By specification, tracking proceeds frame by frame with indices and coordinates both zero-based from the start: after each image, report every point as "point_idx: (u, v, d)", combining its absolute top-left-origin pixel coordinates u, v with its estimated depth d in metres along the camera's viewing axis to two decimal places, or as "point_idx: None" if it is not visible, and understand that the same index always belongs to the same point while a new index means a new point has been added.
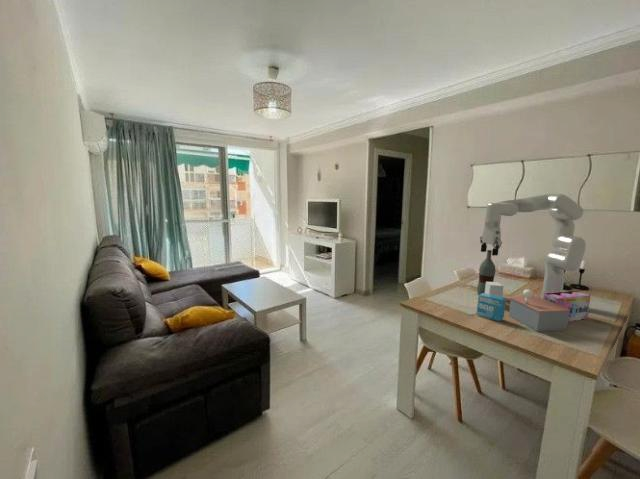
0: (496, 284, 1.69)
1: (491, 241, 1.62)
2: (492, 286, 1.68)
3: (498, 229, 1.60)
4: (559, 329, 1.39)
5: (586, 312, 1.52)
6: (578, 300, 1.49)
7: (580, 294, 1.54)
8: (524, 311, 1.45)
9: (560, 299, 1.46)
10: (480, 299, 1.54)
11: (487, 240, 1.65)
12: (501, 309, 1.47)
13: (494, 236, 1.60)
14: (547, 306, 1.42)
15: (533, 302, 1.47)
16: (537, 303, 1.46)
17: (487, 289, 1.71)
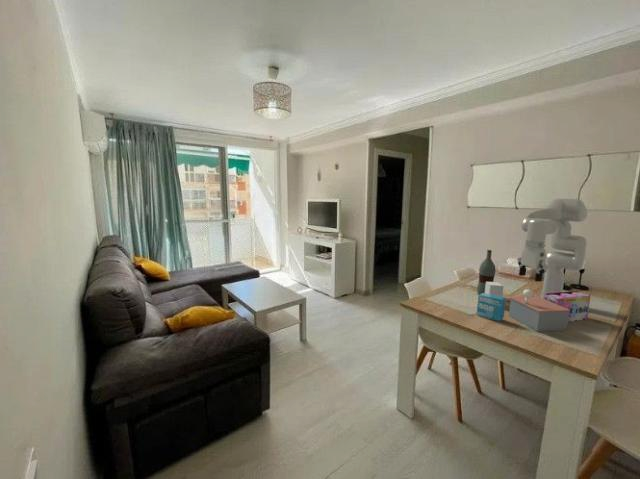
0: (496, 284, 1.69)
1: (534, 264, 1.38)
2: (492, 286, 1.68)
3: (543, 251, 1.36)
4: (559, 329, 1.39)
5: (586, 312, 1.51)
6: (578, 300, 1.49)
7: (580, 294, 1.54)
8: (524, 311, 1.45)
9: (560, 299, 1.46)
10: (480, 299, 1.54)
11: (528, 263, 1.41)
12: (501, 309, 1.47)
13: (538, 259, 1.36)
14: (547, 306, 1.42)
15: (533, 302, 1.47)
16: (537, 303, 1.46)
17: (487, 289, 1.71)
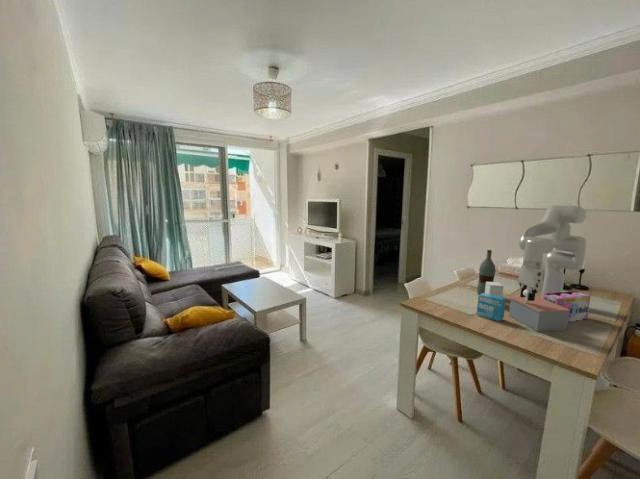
0: (496, 284, 1.69)
1: (531, 284, 1.40)
2: (492, 286, 1.68)
3: (540, 270, 1.38)
4: (559, 329, 1.39)
5: (586, 312, 1.51)
6: (578, 301, 1.49)
7: (580, 294, 1.53)
8: (524, 311, 1.45)
9: (560, 299, 1.46)
10: (480, 299, 1.54)
11: (526, 282, 1.43)
12: (501, 309, 1.47)
13: (535, 278, 1.38)
14: (547, 306, 1.42)
15: (533, 302, 1.47)
16: (537, 303, 1.46)
17: (487, 289, 1.71)
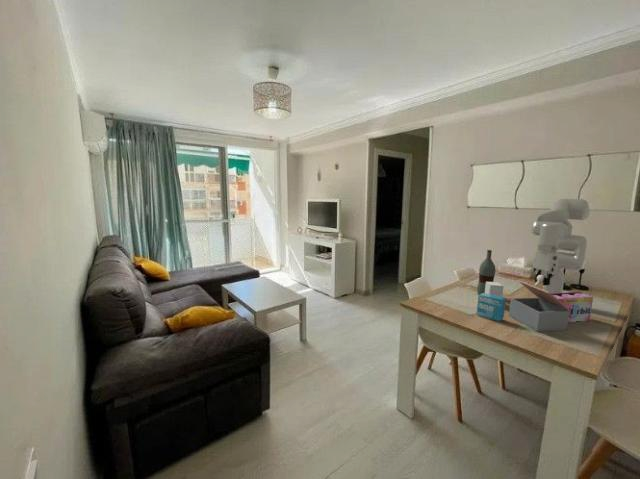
0: (496, 284, 1.69)
1: (547, 268, 1.39)
2: (492, 286, 1.68)
3: (556, 254, 1.37)
4: (559, 329, 1.39)
5: (588, 314, 1.50)
6: (579, 301, 1.47)
7: (583, 295, 1.52)
8: (524, 311, 1.45)
9: (559, 300, 1.45)
10: (480, 299, 1.54)
11: (541, 266, 1.42)
12: (501, 309, 1.47)
13: (551, 262, 1.37)
14: None
15: None
16: None
17: (487, 289, 1.71)
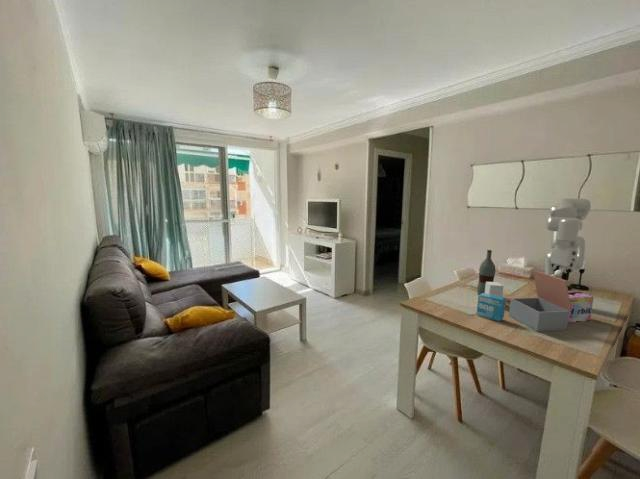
0: (496, 284, 1.69)
1: (566, 263, 1.40)
2: (492, 286, 1.68)
3: (575, 249, 1.38)
4: (559, 329, 1.39)
5: (589, 313, 1.50)
6: (580, 301, 1.47)
7: (583, 295, 1.52)
8: (524, 311, 1.45)
9: None
10: (480, 299, 1.54)
11: (559, 261, 1.43)
12: (501, 309, 1.47)
13: (570, 257, 1.38)
14: None
15: None
16: None
17: (487, 289, 1.71)
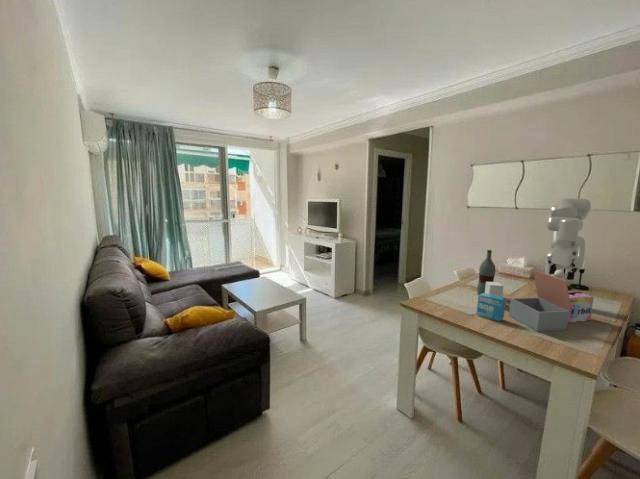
0: (496, 284, 1.69)
1: (566, 263, 1.40)
2: (492, 286, 1.68)
3: (575, 250, 1.38)
4: (559, 329, 1.39)
5: (589, 313, 1.50)
6: (580, 301, 1.47)
7: (583, 295, 1.52)
8: (524, 311, 1.45)
9: None
10: (480, 299, 1.54)
11: (560, 262, 1.43)
12: (501, 309, 1.47)
13: (570, 258, 1.38)
14: None
15: None
16: None
17: (487, 289, 1.71)
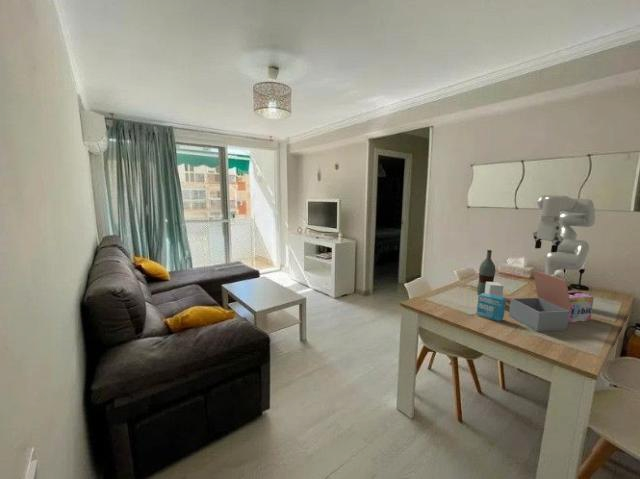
0: (496, 284, 1.69)
1: (550, 237, 1.52)
2: (492, 286, 1.68)
3: (558, 224, 1.50)
4: (559, 329, 1.39)
5: (589, 314, 1.50)
6: (580, 301, 1.47)
7: (583, 295, 1.52)
8: (524, 311, 1.45)
9: None
10: (480, 299, 1.54)
11: (544, 236, 1.55)
12: (501, 309, 1.47)
13: (554, 232, 1.50)
14: None
15: None
16: None
17: (487, 289, 1.71)
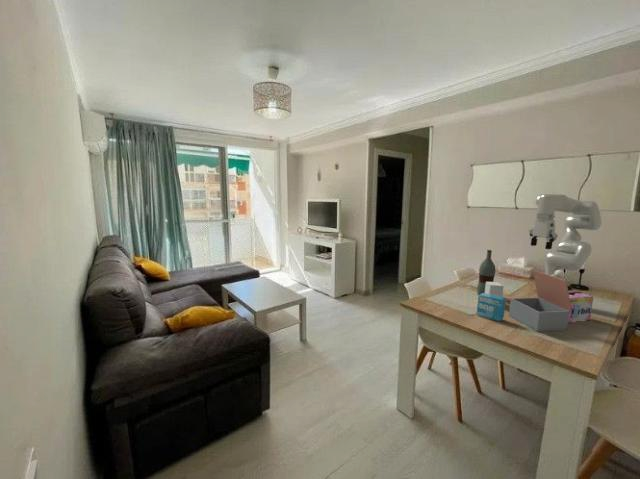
0: (496, 284, 1.69)
1: (545, 234, 1.56)
2: (492, 286, 1.68)
3: (552, 222, 1.54)
4: (559, 329, 1.39)
5: (589, 313, 1.50)
6: (580, 301, 1.47)
7: (583, 295, 1.52)
8: (524, 311, 1.45)
9: None
10: (480, 299, 1.54)
11: (539, 233, 1.59)
12: (501, 309, 1.47)
13: (548, 229, 1.54)
14: None
15: None
16: None
17: (487, 289, 1.71)
